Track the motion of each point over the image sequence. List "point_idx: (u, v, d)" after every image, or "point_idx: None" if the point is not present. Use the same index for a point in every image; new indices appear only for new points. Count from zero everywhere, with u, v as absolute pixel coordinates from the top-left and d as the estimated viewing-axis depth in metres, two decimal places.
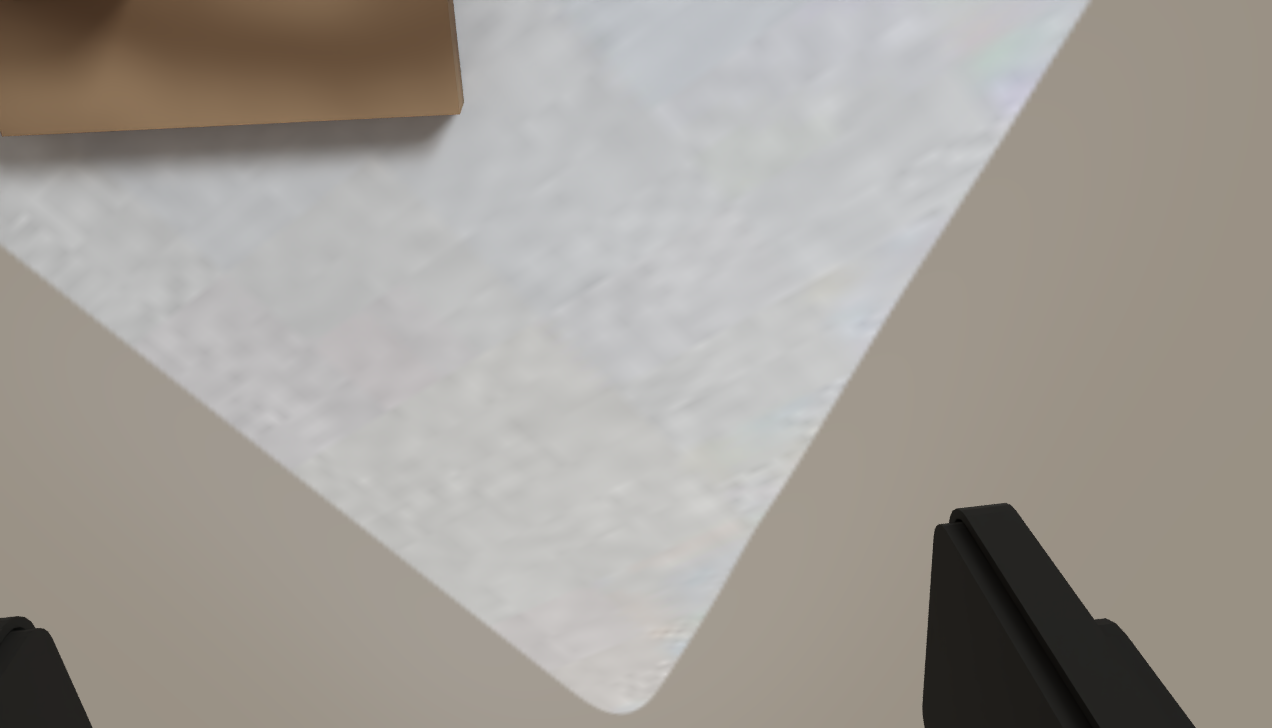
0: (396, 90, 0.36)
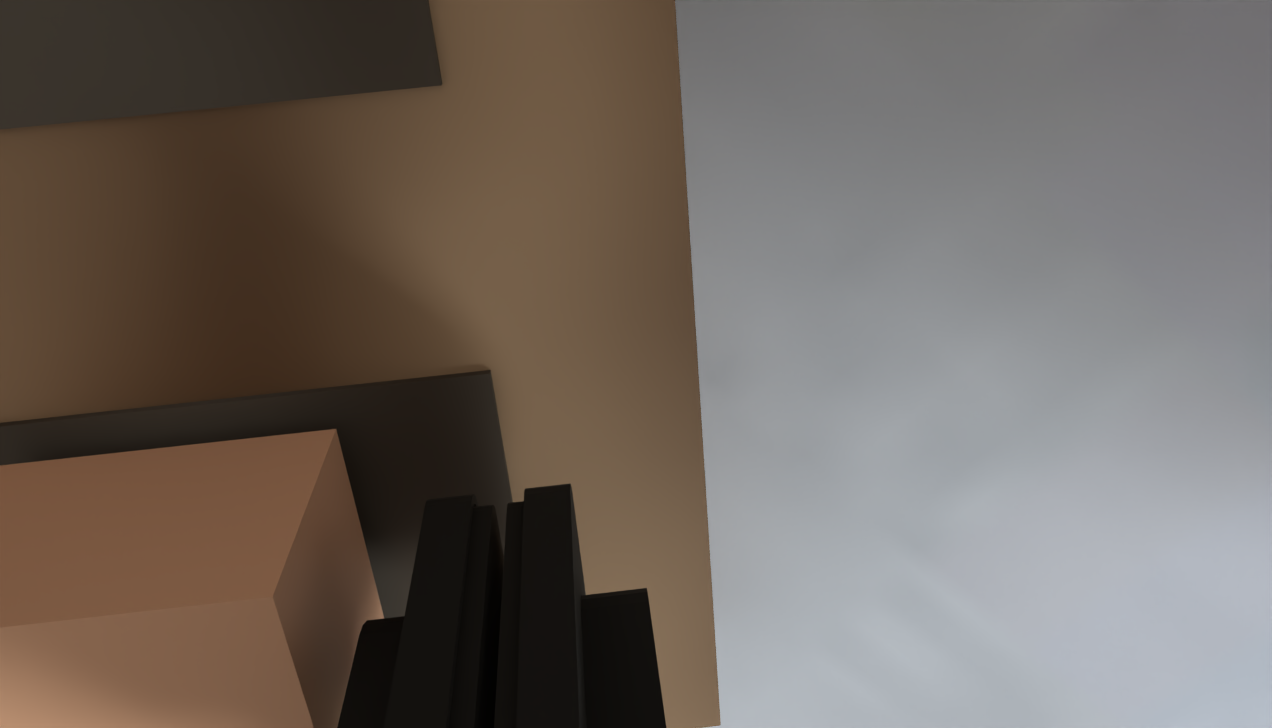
0: None
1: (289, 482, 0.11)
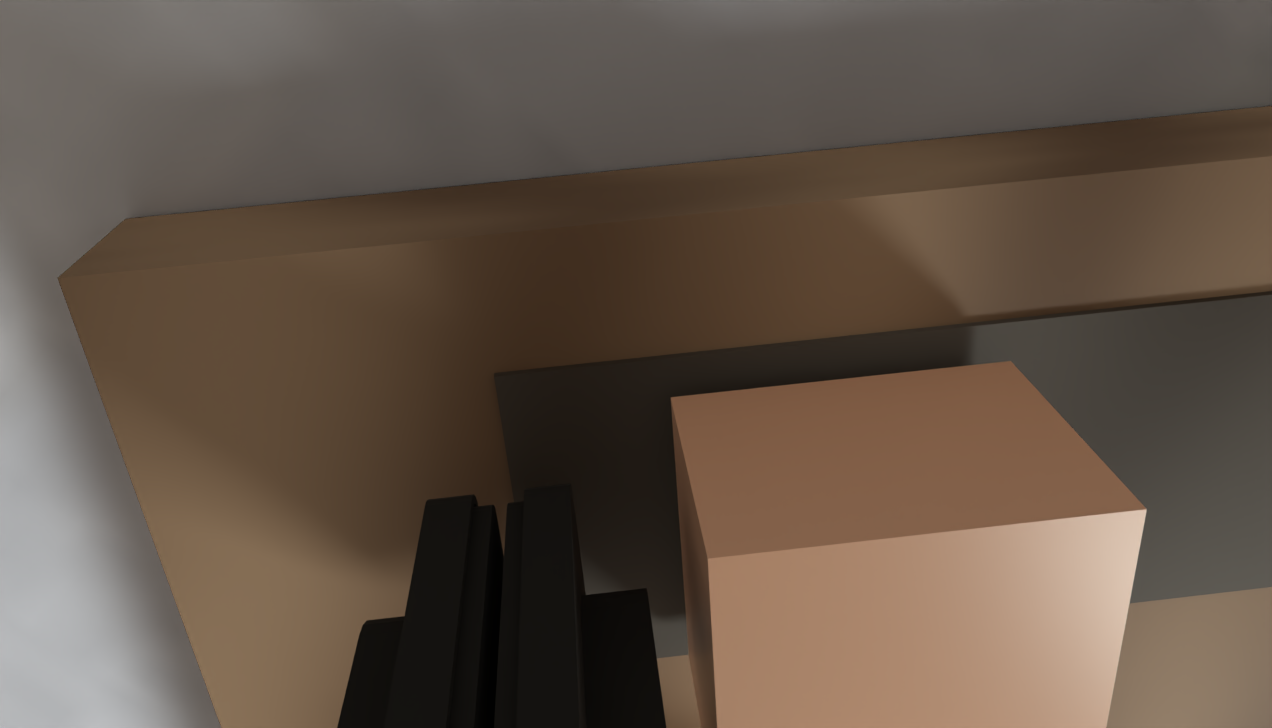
0: None
1: None
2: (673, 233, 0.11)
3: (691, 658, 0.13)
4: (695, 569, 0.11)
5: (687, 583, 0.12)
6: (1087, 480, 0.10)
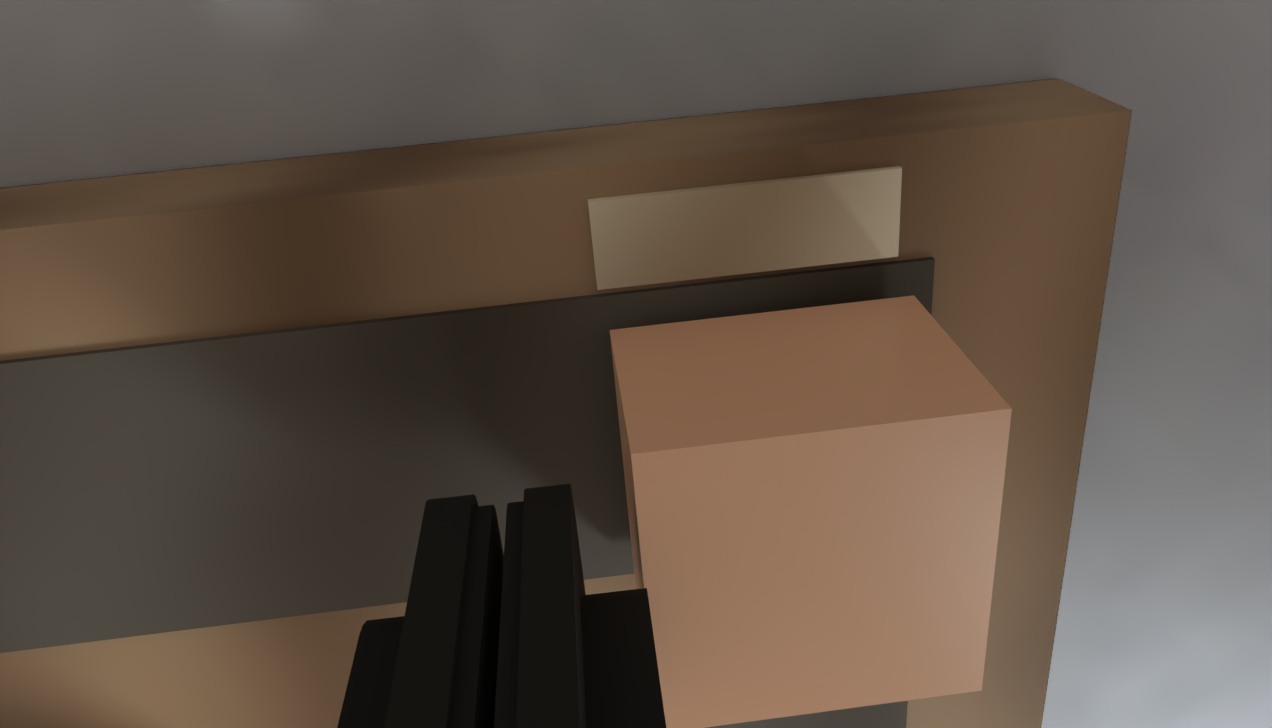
0: None
1: None
2: None
3: (634, 571, 0.14)
4: (629, 477, 0.12)
5: (628, 499, 0.13)
6: (965, 387, 0.11)
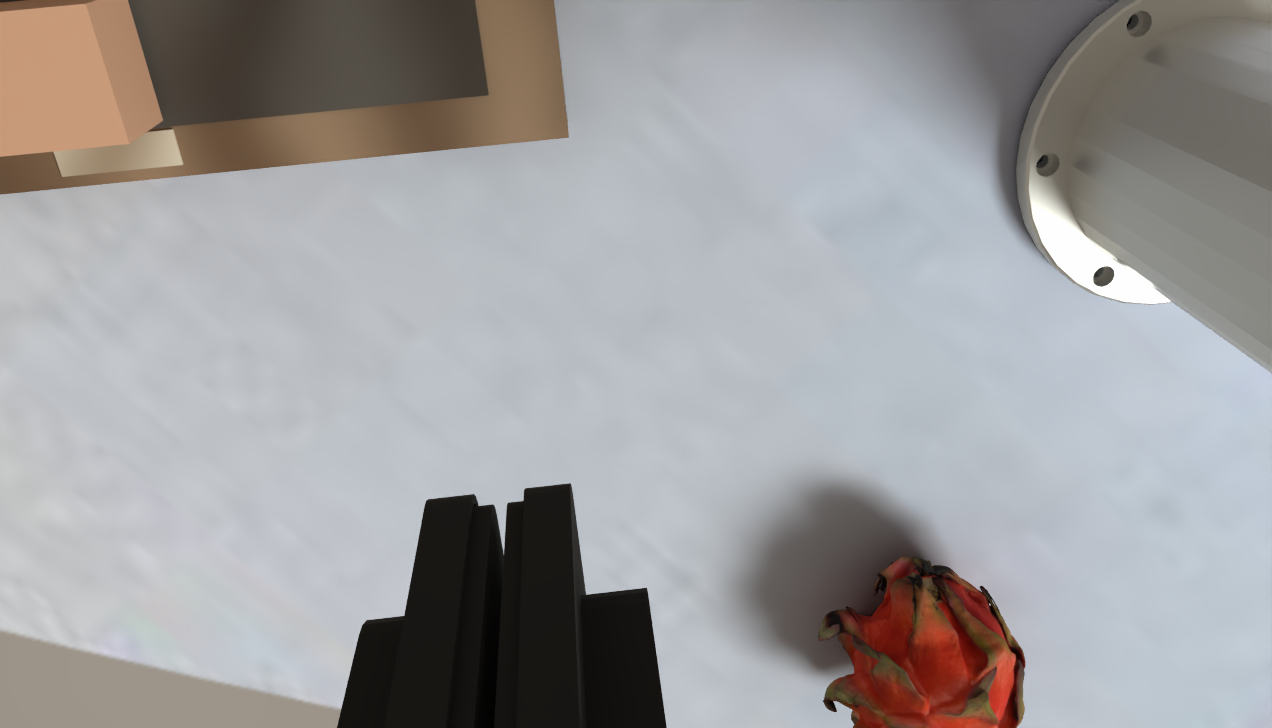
0: None
1: None
2: None
3: None
4: None
5: None
6: None
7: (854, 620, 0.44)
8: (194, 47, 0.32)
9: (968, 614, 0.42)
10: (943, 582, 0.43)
